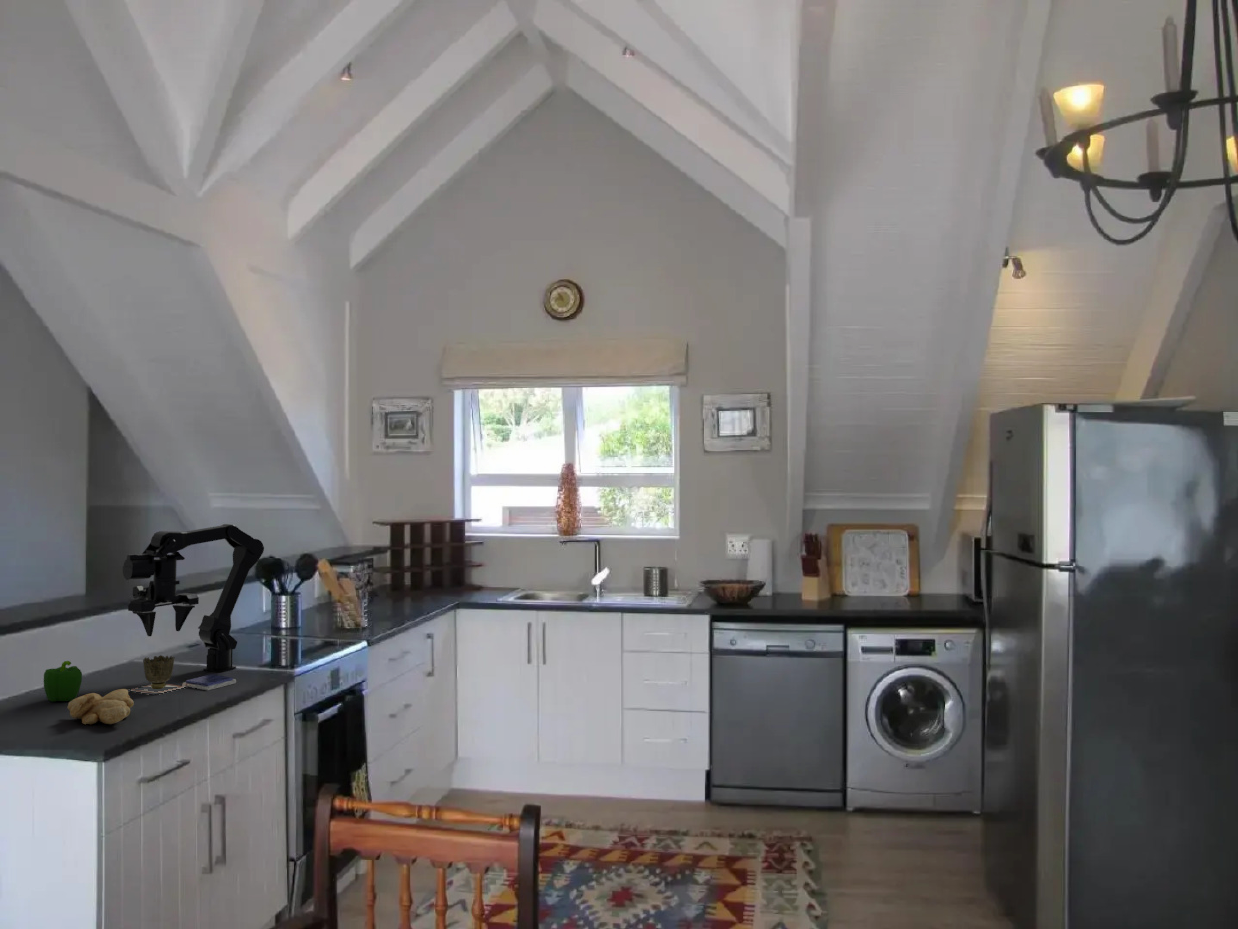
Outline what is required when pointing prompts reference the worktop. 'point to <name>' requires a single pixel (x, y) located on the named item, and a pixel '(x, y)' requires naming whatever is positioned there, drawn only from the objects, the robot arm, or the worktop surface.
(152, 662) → the ornate bronze cup
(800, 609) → the worktop surface
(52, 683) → the bell pepper
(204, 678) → the ink pad
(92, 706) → the ginger root
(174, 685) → the marked card
